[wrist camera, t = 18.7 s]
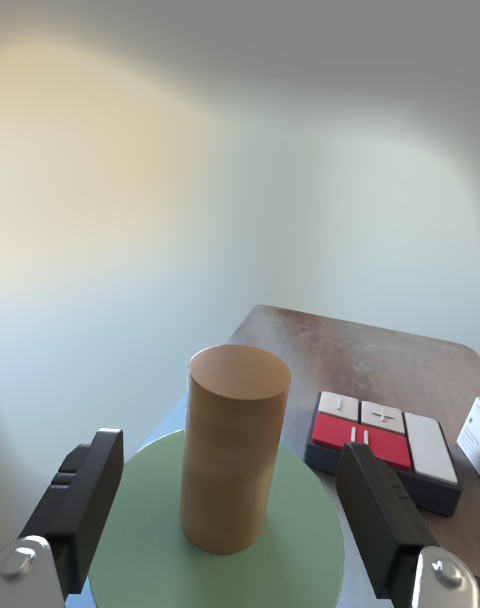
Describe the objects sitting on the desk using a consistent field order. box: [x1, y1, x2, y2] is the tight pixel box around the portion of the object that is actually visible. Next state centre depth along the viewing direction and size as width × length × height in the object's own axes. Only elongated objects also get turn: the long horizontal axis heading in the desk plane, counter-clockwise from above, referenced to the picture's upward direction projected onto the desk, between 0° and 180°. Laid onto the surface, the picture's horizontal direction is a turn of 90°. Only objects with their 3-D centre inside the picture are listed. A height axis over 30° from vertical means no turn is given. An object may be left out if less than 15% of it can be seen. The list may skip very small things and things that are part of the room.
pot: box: [88, 429, 345, 608], centre depth 21 cm, size 15×17×10 cm
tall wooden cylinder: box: [180, 345, 291, 555], centre depth 18 cm, size 5×5×10 cm
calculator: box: [303, 391, 463, 517], centre depth 38 cm, size 11×4×15 cm
